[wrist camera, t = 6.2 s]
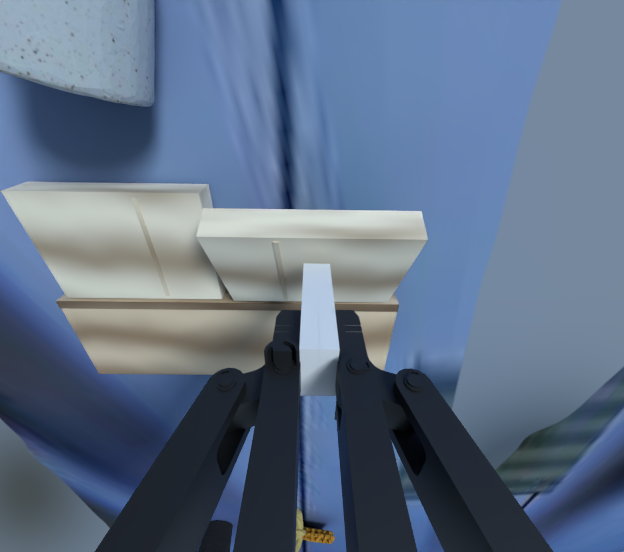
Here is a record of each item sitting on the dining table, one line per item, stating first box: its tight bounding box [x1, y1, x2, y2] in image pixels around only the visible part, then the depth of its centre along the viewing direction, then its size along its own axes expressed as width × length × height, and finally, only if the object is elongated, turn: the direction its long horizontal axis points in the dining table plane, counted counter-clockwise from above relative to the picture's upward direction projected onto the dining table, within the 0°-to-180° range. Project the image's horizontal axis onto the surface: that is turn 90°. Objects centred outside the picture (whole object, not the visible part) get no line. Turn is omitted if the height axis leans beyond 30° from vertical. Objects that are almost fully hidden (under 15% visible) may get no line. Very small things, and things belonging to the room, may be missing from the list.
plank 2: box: [196, 208, 428, 302], centre depth 19 cm, size 9×12×2 cm
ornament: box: [295, 508, 335, 552], centre depth 50 cm, size 7×10×15 cm
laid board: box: [56, 288, 399, 375], centre depth 26 cm, size 9×28×2 cm, turn 89°
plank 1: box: [1, 182, 226, 299], centre depth 21 cm, size 9×12×2 cm
